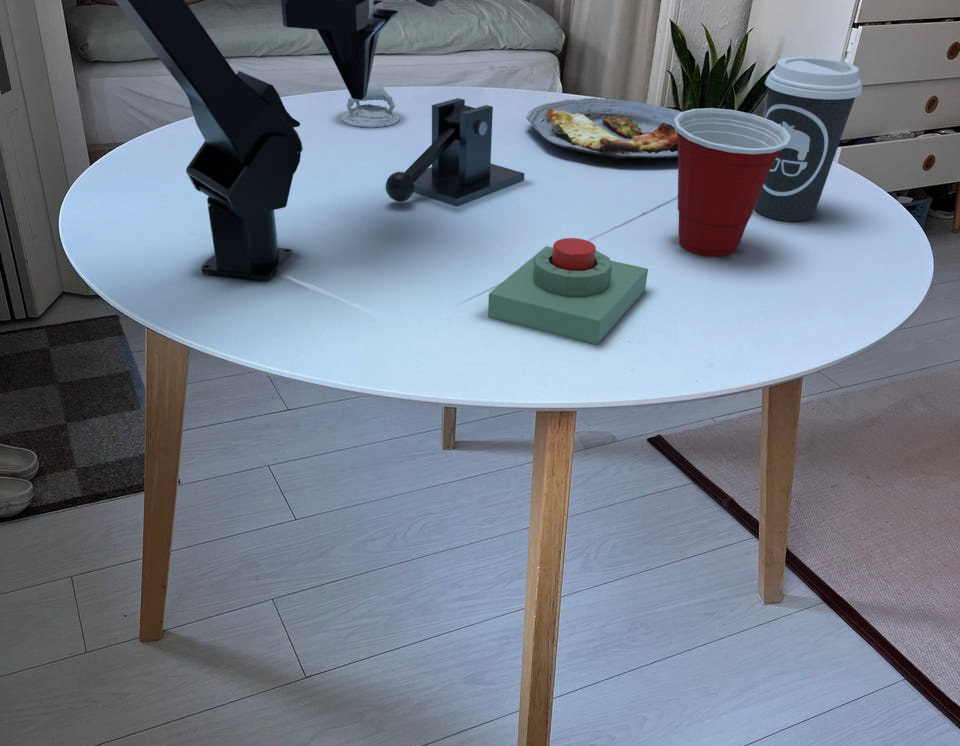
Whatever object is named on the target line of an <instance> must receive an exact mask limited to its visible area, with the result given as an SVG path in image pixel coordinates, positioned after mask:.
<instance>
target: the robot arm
mask: <svg viewBox="0 0 960 746" xmlns="http://www.w3.org/2000/svg"><path fill="white" fill-rule="evenodd" d="M114 1H115V2H116V4H117V5H118V7H120V9H121V10H122V12H123V13H124V14H125V16H126V17H127V18H128V20H129V21H130V23H132V25H133V26H134V27H135V29H136V30H137V32H139V34H140V35H141V36H142V38H143V39H144V40H145V42H146V43H147V44H148V46H149V47H150V48H151V49H152V51H153V52H154V54H155V55H156V56H157V57H158V59H159V60H160V61H161V64H163V65H164V66H165V68H166V69H167V71H168V72H169V73H170V75H171V76H172V78H174V80H175V81H176V83H177V84H178V86H179V87H180V88H181V90H183V92H184V94H185V95H186V97H187V99H188V101H189V105H190V109H191V112H192V115H193V118H194V121H195V124H196V126H197V128H198V130H199V132H200V133H201V135H202V137H203V139H204V142H203V143H202V144H201V146H200V147H199V149H198V151H197V152H196V153H195V155H194V156H193V158H192V160H190V162H189V163H188V165H187V167H186V168H185V172H186V175H187V176H188V178H189V180H190V182H191V184H192V186H193V188H194V189H195V190H196V191H198V192H201V193H203V194H204V195H206V196H207V198H206V201H207V211H208V217H209V225H210V231H211V238H212V245H213V251H214V255H213V256H212V257H210V258H209V259H208V260H207V261H206V262H204V263H203V264H202V265H201V266H200V269H201V273H203V274H209V275H218V276H224V277H225V276H227V277H232V278H241V279H250V280H257V281H268V280H270V279H271V278H272V277H273V276H274V275H275V274H276V273H277V272H278V269H279V268H280V267H281V266H282V265H283V264H284V263H285V262H286V261H287V260H288V259H289V258H290V257H291V256H292V255H293V249H291V248H286V247H279V244H278V242H279V241H278V233H277V232H278V231H277V225H276V215H275V210H279V209H284V208H286V207H287V206H288V201H289V198H290V197H289V196H290V193H291V192H290V191H291V189H292V188H291V187H292V182H293V179H294V175H295V174H296V172H297V170H298V167H299V165H300V162H301V156H302V155H301V154H302V153H303V142H302V140H301V138H300V135H299V134H298V131H297V130H296V129H295V128H298V127H300V126H301V122H300V121H298V120H296V119H295V118H294V117H292V115H290V113H289V112H288V111H287V109H286V107H285V105H284V103H283V101H282V98H281V96H280V94H279V92H278V90H276V88H275V86H274V85H273V84H271V83H268V82H266V81H264V80H262V79H259V78H257V77H255V76H252V75H250V74H248V73H245V72H244V71H241V70H238V72H237V73H236V72H235V70H234V69H233V68H232V66H231V65H230V63H229V62H228V61H227V59H226V57H224V55H223V53H222V52H221V50H220V49H219V48H218V47H217V45H216V43H215V41H213V39H212V37H211V36H210V35H209V34H208V32H207V30H206V29H205V28H204V26H203V25H202V23H201V22H200V20H199V19H198V18H197V16H196V15H195V13H194V12H193V10H192V9H191V7H190V6H189V5H188V3H187V1H186V0H114ZM404 1H406V2H409V1H410V0H404ZM415 1H416V2H417V3H418V4H421V5H423V6H426V7H430V8H434V7H436V6H437V4H438V3H439V2H440V3H441V2H443V1H444V0H415ZM280 5H281V6H280V7H281V17H282V26H283V27H285V28H293V29H304V30H305V29H306V30H316V32H318V34H319V37H320V38H321V40H322V41H323V43H324V45H325V47H326V49H327V51H328V53H329V55H330V56H331V59H332V60H333V62H334V65H335V66H336V68H337V71H338V73H339V75H340V76H341V78H342V81H343V83H344V85H345V87H346V89H347V91H348V94H349V95H350V97H352V98H353V99H357V100H362V99H364V98H365V97H366V94H367V89H368V84H369V81H370V79H371V73H372V69H373V64H374V58H375V55H376V49H377V45H378V40H379V37H380V33H381V32H382V31H383V30H384V28H386V26H387V25H388V24H389V23H390V22H391V21H392V20H393V19H395V17H396V16H397V15H398V13H399V10H396V9H388V8H384V1H383V0H280Z"/></svg>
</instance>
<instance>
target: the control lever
mask: <svg viewBox="0 0 960 746" xmlns="http://www.w3.org/2000/svg"><path fill="white" fill-rule="evenodd" d="M474 108H475V107H473V106H470V105H462V104H459V105H458V106H457V107H456V108H455V109H454V110H453V111H452V112H451V113H450V114H449V115H448V116H447V117H446V118H445V119H444V121H445V124H446V127H447V129H446V130H445V131H444V132H443V133H442V134H441V135H440V136H439V137H438V138H437V139H436V140H435V142H434V143H433V144H432V143H431V145H430V146H428V148H427V149H425V151H423V153H422V154H421V155H419V157H418V158H416V160H415V161H414V162H413V163H412V164H411V165H410V166H409V167H408V168H407V169H406V170H405V171H404V172H403V171H396V172H393V173H391V174H390V175H389V176H388V177H387V179H386V181H385V192H386V194H387V195H388V198H390V199H391V200H393V201H395V202H398V203H399V202H400V203H402V202H406V201H408V200H409V199H411V197H412V196H413V195H414V182H415V181H416V180H417V179H418V178H419V177H420V176H421V175H422V174H423V173H424V172H425V171H426V170H427V169H428V168H430V167H431V166H432V163H433V162H434V161H435V160H436V159H437V158H438V157H439V156H440V155H441V154H442V153H443V152H444V151H445V150H446V149H447V148H448V147H449V146H450V145H451V144H452V143H453V142H454V141H455V140H459V141H460V112H464V111H467V110H471V109H474Z"/></svg>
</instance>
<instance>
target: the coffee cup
mask: <svg viewBox="0 0 960 746" xmlns="http://www.w3.org/2000/svg"><path fill="white" fill-rule="evenodd" d="M859 69H860V68H859V67H857V66H856V65H854V64H852V63H849V62H846V61H842V60H839V59H832V58H826V57H816V56H790V57H789V56H788V57H783V58H780V59H778V60H777V62H776V65H775V66H774V69H772V70H771V71H770V72H769V74H768V75H767V76H766V78H765V81H764V85H765V86H766V87H767V88H768V90H767V100H766V108H765V117H764V118H765V119H768V120H771V121H773V122H775V123H777V124H778V125H780V126H781V127H783V128H785V129H786V130H787V132H788V133H789V135H790V137H791V138H790V140H789V142H788V143H787V145H786V147H785V148H784V149H782V150H781V151H780V153H779V154H778V156H777V158H776V159H775V161H774V163H773V165H772V167H771V169H770V171H769V173H768V175H767V178H766V180H765V183H764V185H763V188H762V190H761V193H760V195H759V198H758V200H757V203H756V205H755V207H754V211H755V212H756V213H758V214H759V215H761V216H763V217H766V218H769V219H772V220H776V221H782V222H783V221H784V222H804V221H809V220H811V219H812V218H814V217H815V214H816V211H817V208H818V205H819V202H820V200H821V197H822V195H823V194H822V193H823V191H824V188H825V185H826V182H827V179H828V177H829V173H830V171H831V168H832V165H833V162H834V160H835V156H836V153H837V150H838V149H839V148H838V147H839V144H840V142H841V139H842V137H843V134H844V130H845V127H846V125H847V122H848V119H849V116H850V113H851V111H852V108H853V106H854V103H855V100H856V98H857V97H859V96H861V95H862V93H863V85H862V80H861V79H860V78H859V76H860V70H859Z"/></svg>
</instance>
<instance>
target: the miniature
mask: <svg viewBox="0 0 960 746" xmlns="http://www.w3.org/2000/svg"><path fill="white" fill-rule="evenodd" d="M366 101H383V102H386V103H387V105H388V106H389V107H387V106H382V105H381V104H370V103H369V104H360V102H366ZM354 103H355V104H356V106H355V107H353V106H354ZM352 107H353V108H352ZM395 107H396V105H395V102H394V100H393V96H392V95H390V94H389V93H388V92H387V91H386V90H385V89H384V87H383V86H382V85H381V84H380V83H378V82H377V81H376V82H375V81H370V80H369V84H368V89H367V94H366V97H365V98H364V99H362V100H357V99H353V98H352V97H351V96H350V97H348V98H347V103H346V109H347V110H348V112H346V113H344V114H343V115H342V116H341V121H342V122H343V124H346V125H348V126H352V127H357V128H358V127H360V128H385V127H389V126H393V125H396V124H397V123H398V122H399V121H400V117H399V115H398V114H396V113H395V112H394V109H395Z"/></svg>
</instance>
